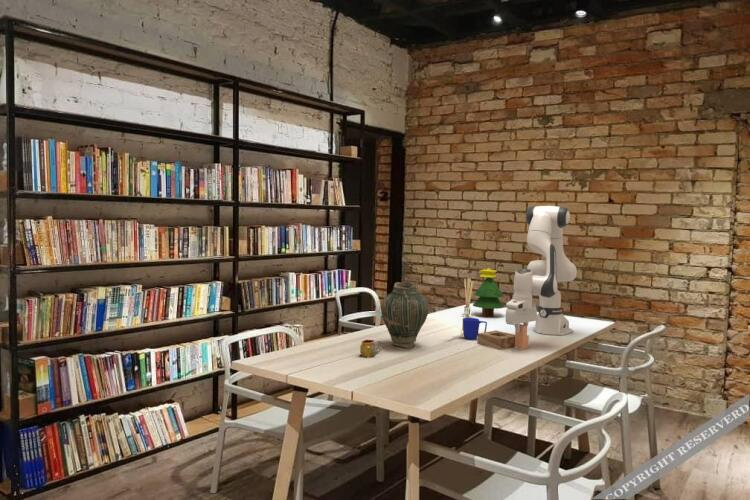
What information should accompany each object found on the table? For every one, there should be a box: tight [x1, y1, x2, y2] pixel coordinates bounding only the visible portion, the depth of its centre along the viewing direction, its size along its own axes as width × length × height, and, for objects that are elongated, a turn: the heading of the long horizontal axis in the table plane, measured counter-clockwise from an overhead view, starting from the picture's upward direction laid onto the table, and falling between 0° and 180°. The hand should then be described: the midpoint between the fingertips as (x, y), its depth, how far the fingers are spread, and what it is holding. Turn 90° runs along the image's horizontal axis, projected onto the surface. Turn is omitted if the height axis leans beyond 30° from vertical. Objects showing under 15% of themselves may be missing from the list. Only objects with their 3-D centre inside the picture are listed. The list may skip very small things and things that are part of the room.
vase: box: [380, 281, 430, 349], centre depth 266 cm, size 22×22×30 cm
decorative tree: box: [472, 267, 505, 318], centre depth 350 cm, size 19×19×30 cm
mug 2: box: [462, 317, 488, 341], centre depth 285 cm, size 8×12×10 cm
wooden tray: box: [476, 330, 515, 351], centre depth 274 cm, size 14×14×5 cm
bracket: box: [514, 323, 530, 350], centre depth 269 cm, size 4×4×11 cm
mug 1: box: [359, 339, 383, 359], centre depth 248 cm, size 12×7×7 cm, turn 132°
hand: (521, 332), depth 268 cm, fingers closed on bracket, 3 cm apart
